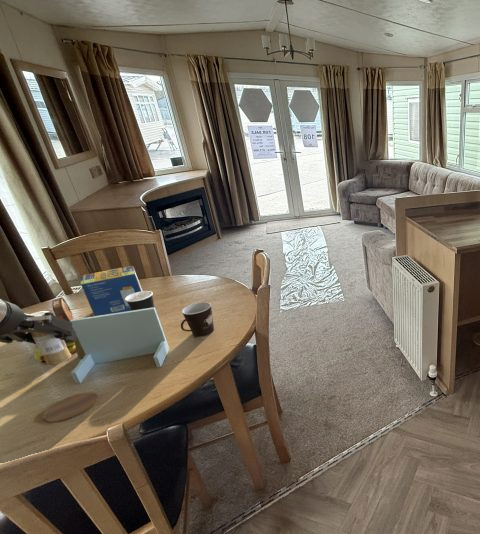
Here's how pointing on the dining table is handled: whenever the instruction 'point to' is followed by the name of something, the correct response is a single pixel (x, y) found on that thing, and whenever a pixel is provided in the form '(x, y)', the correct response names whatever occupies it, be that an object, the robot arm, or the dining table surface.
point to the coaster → (70, 407)
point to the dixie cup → (140, 300)
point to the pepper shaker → (79, 348)
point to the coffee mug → (198, 318)
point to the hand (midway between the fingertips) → (60, 339)
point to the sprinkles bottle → (51, 346)
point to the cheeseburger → (69, 345)
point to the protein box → (110, 290)
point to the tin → (62, 309)
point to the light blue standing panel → (119, 338)
